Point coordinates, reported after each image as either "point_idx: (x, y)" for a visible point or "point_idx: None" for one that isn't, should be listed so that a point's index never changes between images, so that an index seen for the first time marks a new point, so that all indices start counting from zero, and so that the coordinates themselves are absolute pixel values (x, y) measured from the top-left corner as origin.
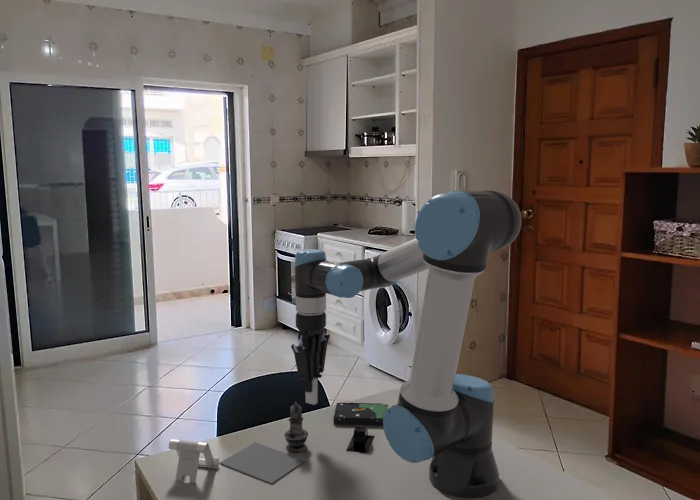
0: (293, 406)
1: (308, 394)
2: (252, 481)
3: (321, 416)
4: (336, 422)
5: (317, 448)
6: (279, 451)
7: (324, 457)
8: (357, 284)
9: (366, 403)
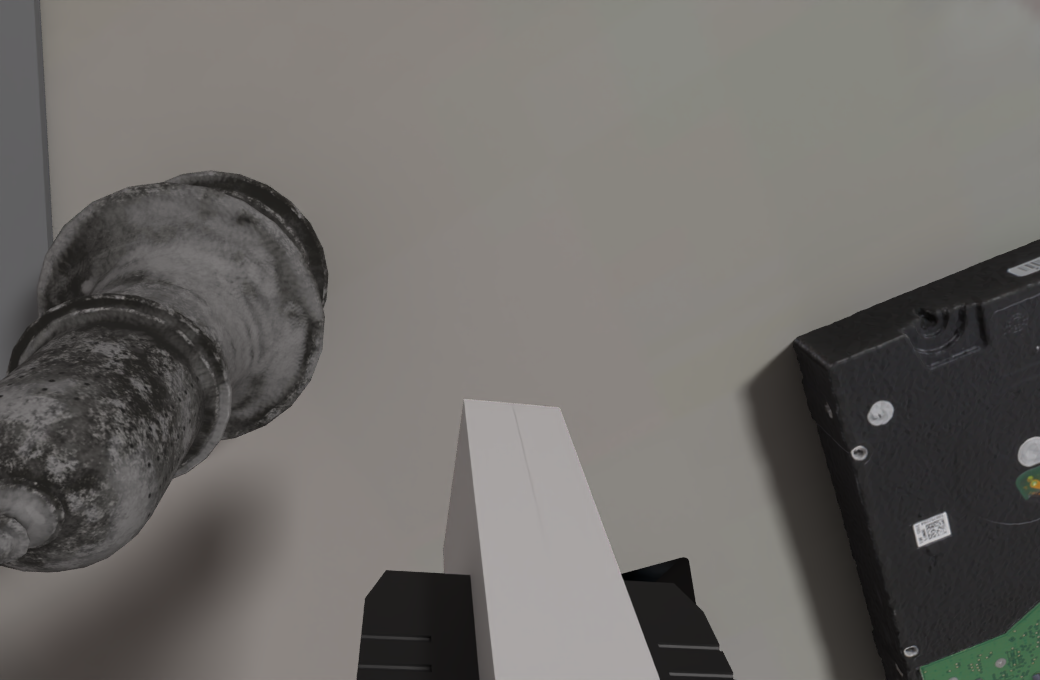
0: None
1: (460, 545)
2: None
3: (930, 146)
4: (807, 372)
5: (316, 440)
6: (35, 184)
7: (215, 557)
8: None
9: None
